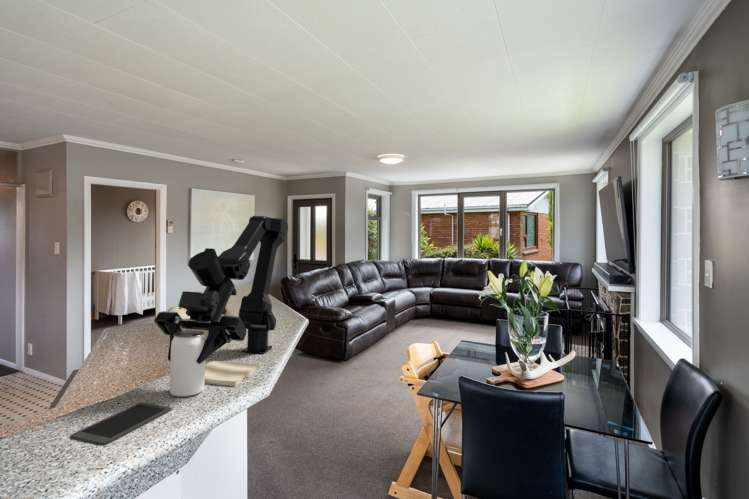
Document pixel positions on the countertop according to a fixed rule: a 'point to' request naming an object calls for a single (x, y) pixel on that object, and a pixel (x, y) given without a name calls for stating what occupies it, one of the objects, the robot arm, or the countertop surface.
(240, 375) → the coaster
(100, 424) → the cell phone
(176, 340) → the can
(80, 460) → the countertop surface
